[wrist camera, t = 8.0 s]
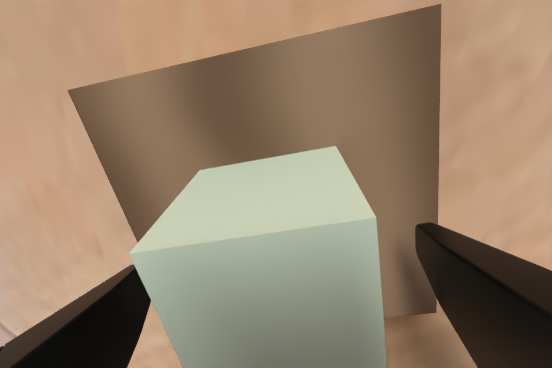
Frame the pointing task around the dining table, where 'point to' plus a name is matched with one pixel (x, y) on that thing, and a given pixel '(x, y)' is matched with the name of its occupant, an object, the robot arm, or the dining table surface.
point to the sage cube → (268, 267)
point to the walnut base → (290, 127)
